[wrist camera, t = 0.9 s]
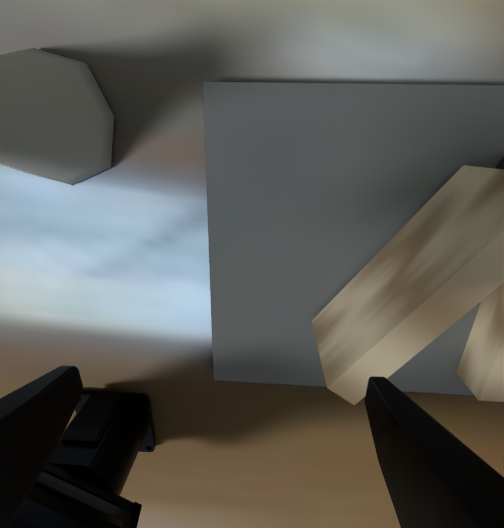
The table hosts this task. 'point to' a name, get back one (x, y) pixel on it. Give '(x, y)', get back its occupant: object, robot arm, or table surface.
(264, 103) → the slate board
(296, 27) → the table surface
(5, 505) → the robot arm
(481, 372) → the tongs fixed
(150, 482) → the table surface
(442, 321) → the beige flat block
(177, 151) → the table surface
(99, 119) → the flask
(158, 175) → the table surface
